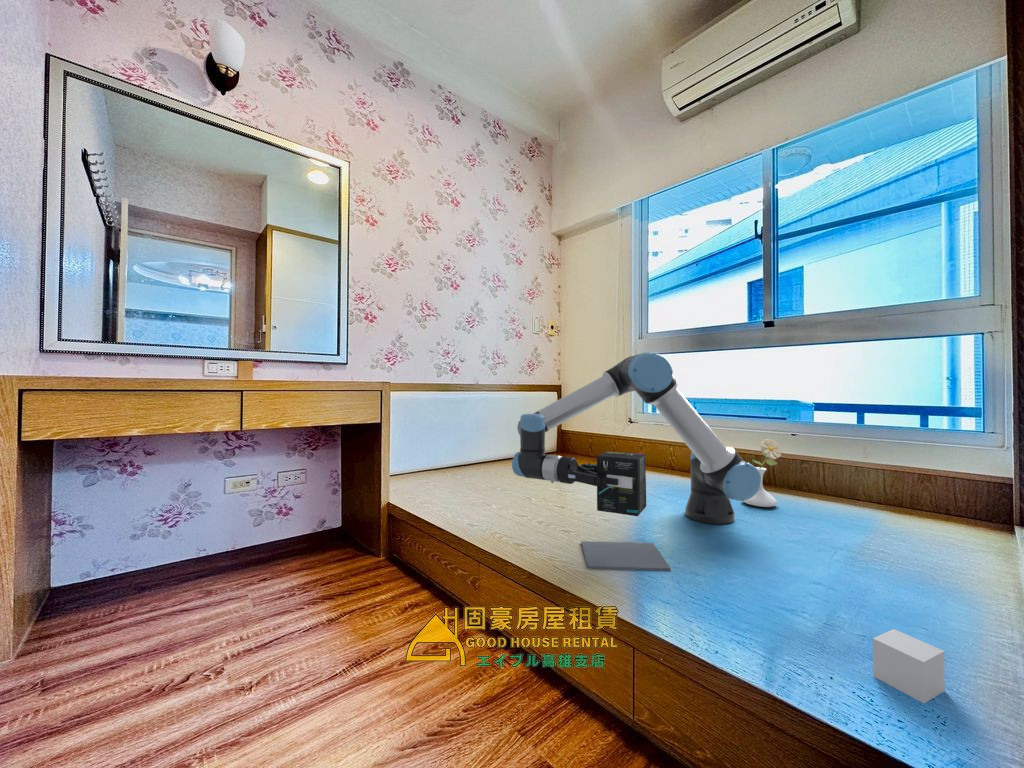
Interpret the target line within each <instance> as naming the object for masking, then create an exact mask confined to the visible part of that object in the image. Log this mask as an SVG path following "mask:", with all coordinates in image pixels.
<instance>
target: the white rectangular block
mask: <svg viewBox="0 0 1024 768" xmlns="http://www.w3.org/2000/svg"><path fill="white" fill-rule="evenodd" d="M945 667H946V666H945V650H943V649H941V648H938V647H936V646H933V645H932V644H929V643H927V642H925V641H922V640H920V639H918V638H915V637H913V636H911V635H909V634H907V633H904V632H901V631H899V630H897V629H895V628H893V629H891V630H888V631H886V632H884V633H882V634H879V635H878V636H875V637H873V638H872V676H873V678H876V679H877V680H880V681H881V682H883V683H885V684H887V685H889V686H890V687H892V688H894V689H896V690H897V691H900V692H902V693H904V694H905V695H907V696H909V697H911V698H913V699H914V700H916V701H918V702H920V703H922V704H926V703H928V702H929V701H931V700H932V699H935V697H937V696H939V695H940V694H942V693H944V692H946V691H945V688H946V687H945V685H946V682H945V681H946V680H945V677H946V676H945V670H946V669H945Z"/></svg>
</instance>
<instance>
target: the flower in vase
mask: <svg viewBox="0 0 1024 768" xmlns="http://www.w3.org/2000/svg"><path fill="white" fill-rule="evenodd" d="M759 445H760V446H759V447H760V452H762V454H763V456H764V457H765V458H764V460H763V462H760V461H757V460H756V459H754V458H752V462H753V463H755V464H758V465H760V466H755V467H756V468H757V469H758V471H759V473H760V476H761V482H760V488H759V490H758V492H757V493H756V494H755V495H754V496H753V497H752V498H750V499H748V500H745V501H743V502H744V503H746V504H748V505H751V506H753V507H754V506H755V507H762V508H771V507H775V506H777V504H778V501H777V500H776V498H775V497H773V495H772V494H770V493H769V492H767V491H766V490H765V488H764V485H763V479H764V478H763V477H764V475H765V473H766V471H767V470H768V468H765V467H763V465H764V464H765V463H766V464H767V465H769V466H771V467H772V466H775V465H777V464H778V462H776V459H778V458H780V457H782V453H783V451H782V448H781V446H780V444H778V443H777V441H776V440H774V439H769V438H766V439H763V441H761V442H760V444H759Z"/></svg>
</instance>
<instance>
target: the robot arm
mask: <svg viewBox="0 0 1024 768" xmlns="http://www.w3.org/2000/svg"><path fill="white" fill-rule="evenodd" d="M673 370H674V369H673V367H672V364H671V362H670V361H669V360H668V359H667V358H666V357H665V356H663V355H662V354H659V353H655V352H641V353H639V354H636V355H631V356H628V357H625V358H624V359H623V360H622V361H620V362H618V363H617V364H616V365H613V366H612V367H610V368H608V369H607V370H605V371H603V374H602V376H601V377H598V378H597V379H595V380H593V381H591V382H589V383H588V384H585V385H584V386H582V387H580V388H578V389H575V390H574V391H572V392H571V393H569V394H567V395H565V396H563V397H562V398H559V399H558V400H555V401H554V402H551V403H550V404H549V405H547V406H544V407H542V408H541V409H539V410H537V411H536V412H533V413H524V414H521V415H520V417H519V418H520V420H519V421H518V423H517V432H518V435H519V438H520V439H519V440H520V442H519V443H520V449H519V451H517V452H516V453H515V454H514V455H513V457H512V459H513V460H512V461H511V469H512V472H513V473H514V474H515V475H516V476H517V477H521V478H522V477H523V478H527V479H532V480H536V479H537V480H542V481H543V480H544V481H550V484H554V483H556V482H557V483H561V484H568V485H572V484H573V485H574V483H576V482H577V483H582V484H585V485H589V486H595V487H596V488H597V487H599V486H600V485H601V488H606V485H608V486H615V487H622V488H629V489H632V477H625V476H617V475H609V474H607V475H606V476H605V475H602V474H597V463H596V464H595V463H590V462H589V463H581V464H579V463H578V460H577V459H576V458H575V457H573V456H572V457H571V456H561V455H555V454H546V452H545V450H546V444H545V443H546V433H547V432H549V431H550V430H552V429H555V428H556V427H558V426H560V425H562V424H563V423H565V422H568V421H569V420H571V419H572V418H575V417H577V416H579V415H581V414H582V413H584V412H587V411H588V410H590V409H592V408H594V407H595V406H598V405H599V404H601V403H603V402H605V401H607V400H608V399H610V398H613V397H616V398H619V397H621V396H622V395H625V394H627V393H631V392H636V393H637V395H638V396H639V397H640V399H642V401H643V402H644V403H645V404H647V405H653V406H654V407H655V409H656V410H657V411H658V412H659V413H660V415H661V416H662V417H663V418H664V419H665V420H666V422H667V423H668V424H669V426H670V427H671V428H672V429H673V431H675V433H676V434H677V435H678V437H680V439H681V440H682V441H683V442H684V444H685V445H686V446H687V447H688V448H689V450H691V453H690V458H689V461H690V494H689V497H688V500H687V503H686V506H685V507H684V508H685V516H686V517H688V518H689V519H691V520H693V521H696V522H697V521H698V522H701V523H705V524H706V523H707V524H715V525H716V524H717V525H723V524H724V525H725V524H731V523H733V522H735V518H736V517H735V511H734V509H733V505H732V503H731V500H733V501H734V500H735V501H737V502H744V501H745V500H748V499H750V498H752V497H753V496H754V495H755V494H756V493H757V492H758V490H759V488H760V482H761V476H760V473H759V471H758V469H757V468H756V467H757V466H755V465H753V464H752V463H750V462H746V461H744V459H743V458H742V457H741V456H740V455H739V453H738V452H737V451H736V450H735V448H733V447H730V446H725V445H724V443H723V441H721V440H720V438H719V437H718V436H717V435H716V434H715V432H714V431H713V430H712V428H710V426H709V425H708V424H707V423H706V421H705V420H704V419H703V417H702V416H701V415H700V414H699V413H698V411H697V410H696V409H695V408H694V407H693V406H692V404H691V403H690V402H689V401H688V400H687V398H686V397H685V396H684V395H683V393H682V391H680V389H678V382H679V381H678V379H677V378H676V377H675V376H674V374H673V373H674V372H673Z"/></svg>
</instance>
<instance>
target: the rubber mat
mask: <svg viewBox="0 0 1024 768" xmlns="http://www.w3.org/2000/svg"><path fill="white" fill-rule="evenodd" d="M581 547H582V551H583V554H584V558H585V562H587V563H586V566H588V567H587V569H588V568H597V569H596V570H623V569H643V570H642V571H661V570H662V571H663V570H666V572H667V571H670V572H671V571H672V570H671V569H672V567H670V565H669V564H668V562H667V561H666V560H665V558H664V557H663V556H662V554H661V553H660V551H659V550H658V548H657V546H656V545H655V544H654V543H653V542H628V541H627V542H625V541H624V542H623V541H622V542H621V541H583V540H582V541H581ZM598 568H599V569H598Z"/></svg>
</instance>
